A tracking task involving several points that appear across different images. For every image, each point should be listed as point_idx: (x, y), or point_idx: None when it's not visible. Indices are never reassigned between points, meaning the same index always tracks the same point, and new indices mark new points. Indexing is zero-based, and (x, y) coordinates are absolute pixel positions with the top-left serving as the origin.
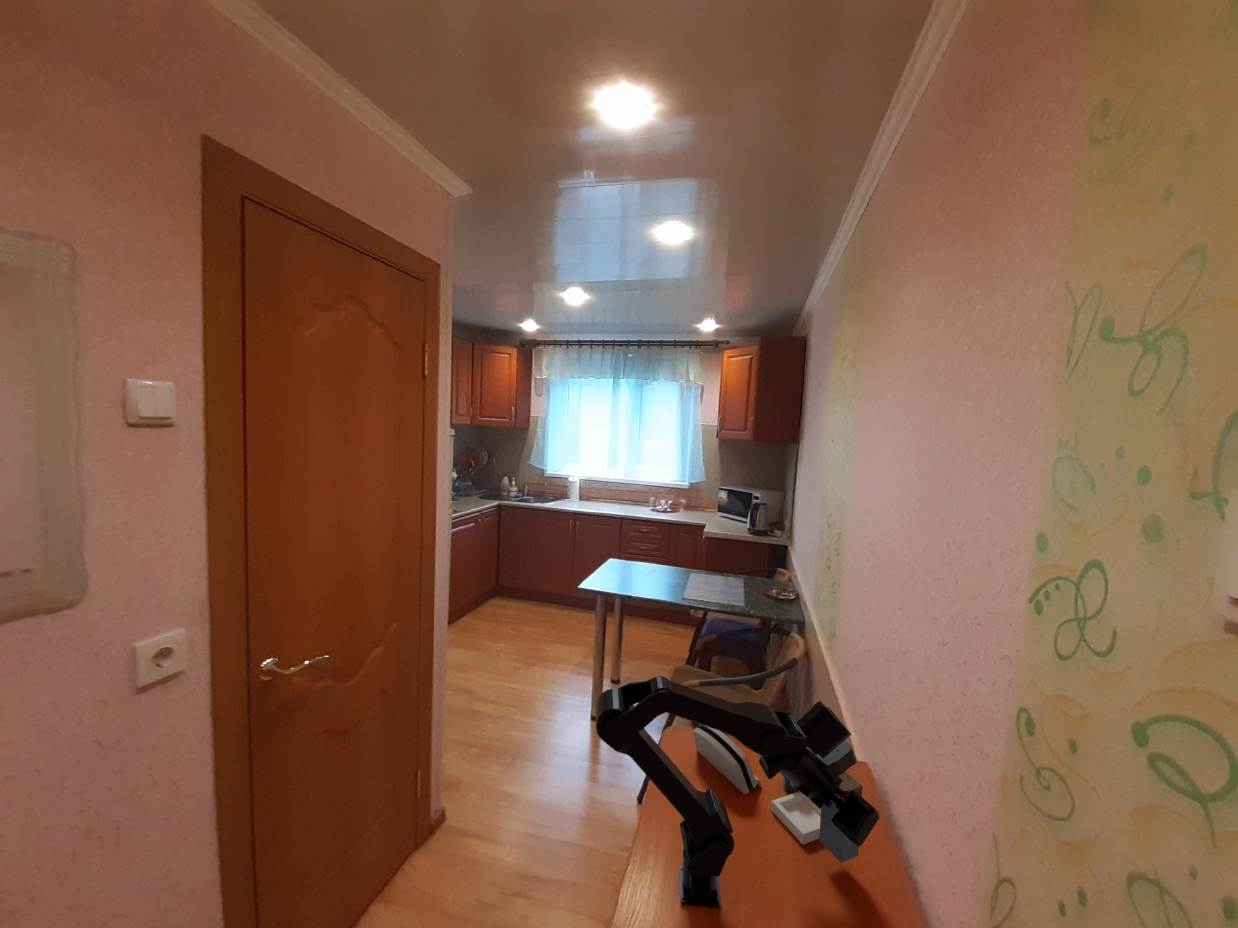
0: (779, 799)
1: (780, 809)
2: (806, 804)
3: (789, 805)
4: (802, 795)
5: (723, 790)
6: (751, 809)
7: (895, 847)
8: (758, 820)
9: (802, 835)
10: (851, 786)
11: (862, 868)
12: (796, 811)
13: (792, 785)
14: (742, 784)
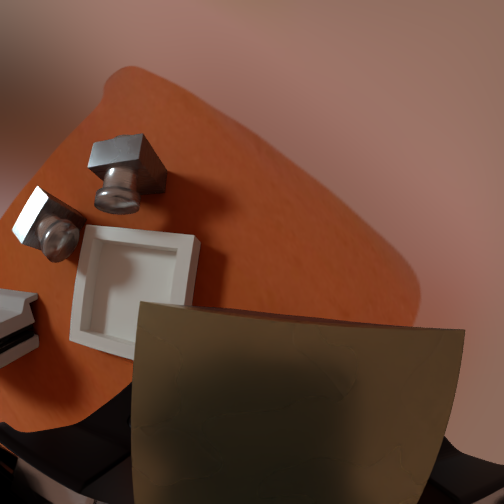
0: (74, 319)
1: (95, 347)
2: (110, 252)
3: (93, 296)
4: (92, 251)
5: (22, 372)
6: (68, 372)
7: (300, 168)
8: (93, 388)
9: None
10: (412, 443)
11: (305, 291)
12: (112, 295)
13: (63, 259)
14: (21, 353)
